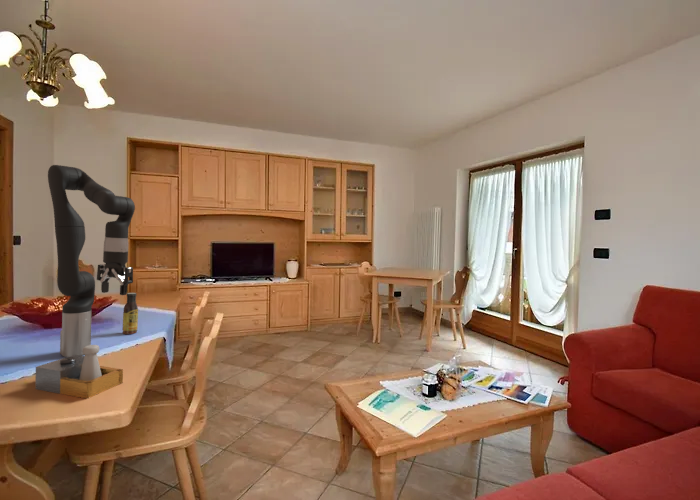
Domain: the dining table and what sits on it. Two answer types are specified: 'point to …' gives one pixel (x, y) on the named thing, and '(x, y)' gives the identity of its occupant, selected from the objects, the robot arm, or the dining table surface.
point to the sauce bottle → (130, 315)
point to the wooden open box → (74, 378)
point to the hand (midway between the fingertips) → (114, 293)
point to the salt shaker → (90, 363)
